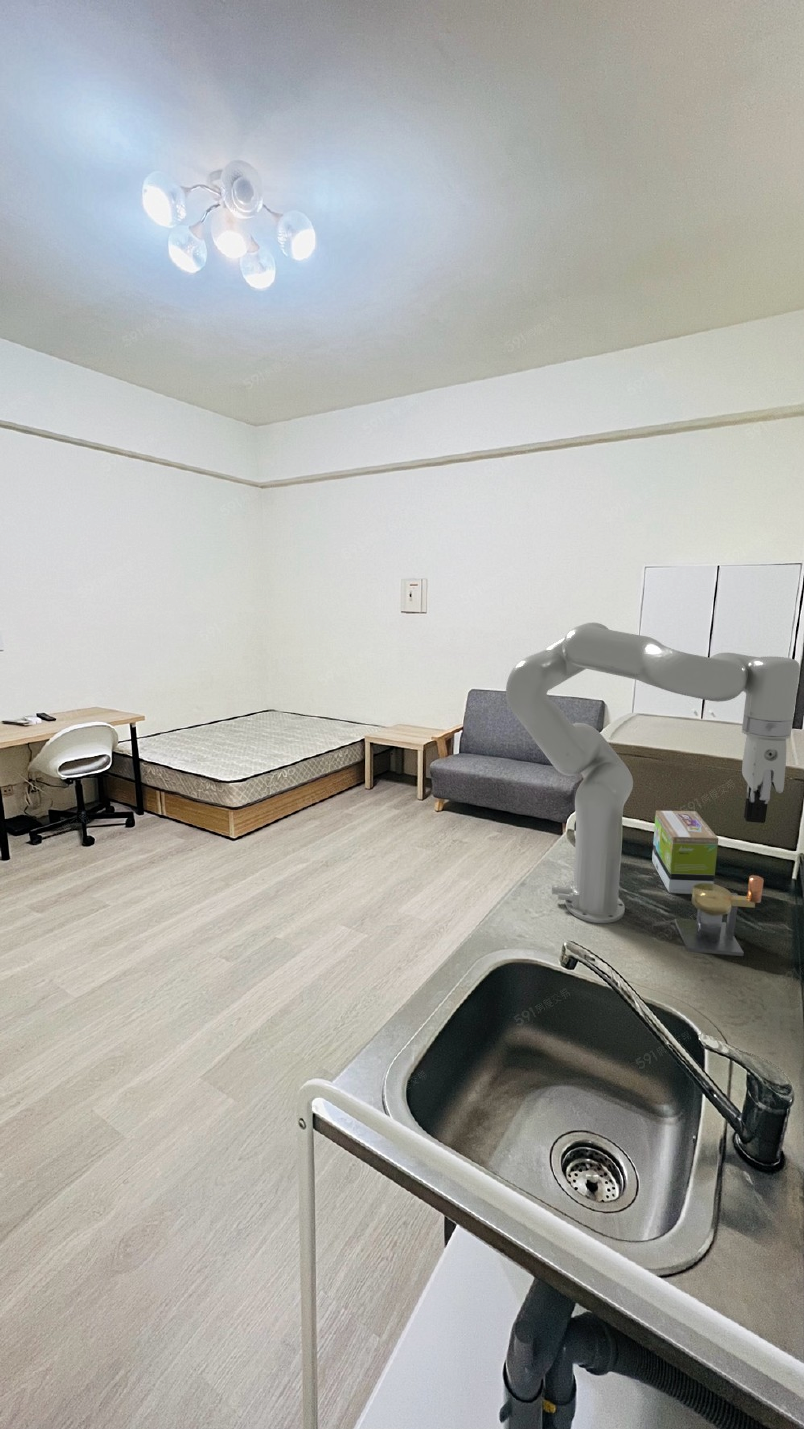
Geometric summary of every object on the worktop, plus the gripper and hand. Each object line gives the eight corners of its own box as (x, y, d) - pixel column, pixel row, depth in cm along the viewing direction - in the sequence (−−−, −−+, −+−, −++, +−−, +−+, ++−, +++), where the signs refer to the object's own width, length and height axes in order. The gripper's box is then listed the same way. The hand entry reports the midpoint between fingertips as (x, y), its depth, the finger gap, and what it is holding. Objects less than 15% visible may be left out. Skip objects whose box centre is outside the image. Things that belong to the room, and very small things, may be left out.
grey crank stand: (687, 951, 114) (692, 909, 112) (674, 921, 124) (678, 882, 122) (744, 956, 112) (750, 913, 110) (726, 925, 122) (731, 886, 120)
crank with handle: (696, 913, 114) (700, 882, 112) (687, 893, 120) (690, 865, 119) (765, 919, 111) (770, 888, 110) (752, 899, 118) (756, 869, 116)
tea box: (650, 862, 149) (654, 808, 145) (691, 863, 147) (697, 809, 144) (667, 894, 134) (673, 835, 131) (714, 896, 133) (721, 837, 129)
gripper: (804, 739, 96) (789, 840, 101) (779, 717, 110) (766, 807, 114) (752, 736, 99) (740, 835, 103) (734, 715, 112) (724, 803, 117)
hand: (754, 820), depth 109 cm, fingers closed
